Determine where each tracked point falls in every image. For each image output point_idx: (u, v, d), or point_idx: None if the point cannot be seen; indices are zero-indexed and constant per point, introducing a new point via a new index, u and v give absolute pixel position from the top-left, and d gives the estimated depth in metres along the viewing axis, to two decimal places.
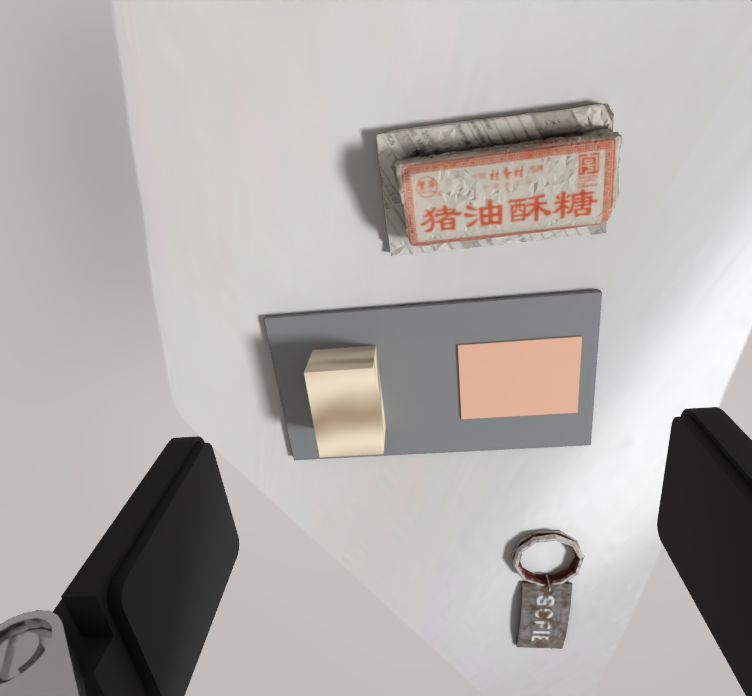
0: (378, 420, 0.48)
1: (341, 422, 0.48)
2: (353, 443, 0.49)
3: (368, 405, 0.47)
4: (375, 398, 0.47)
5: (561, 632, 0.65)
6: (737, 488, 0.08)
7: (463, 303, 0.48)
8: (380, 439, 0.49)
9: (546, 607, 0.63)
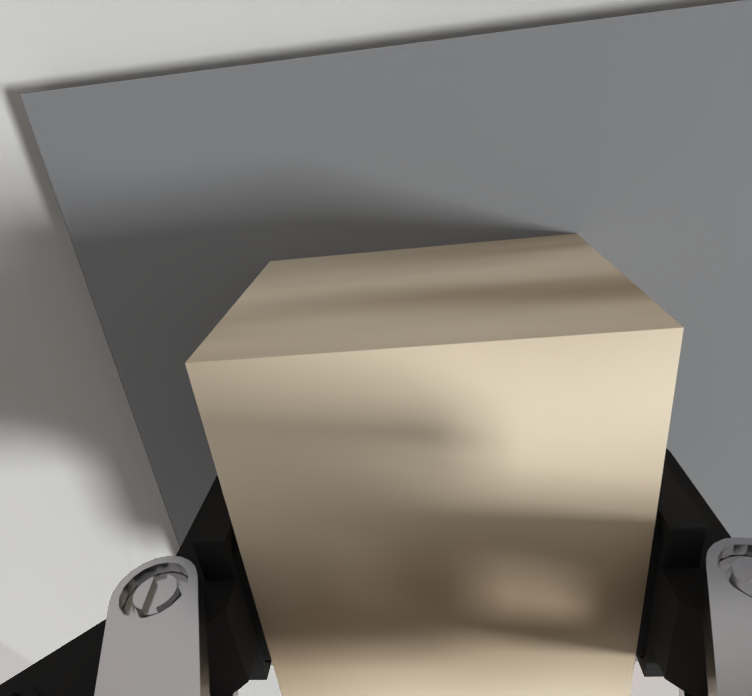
0: (632, 636, 0.08)
1: (420, 639, 0.09)
2: None
3: (595, 560, 0.08)
4: (647, 526, 0.07)
5: None
6: None
7: None
8: None
9: None
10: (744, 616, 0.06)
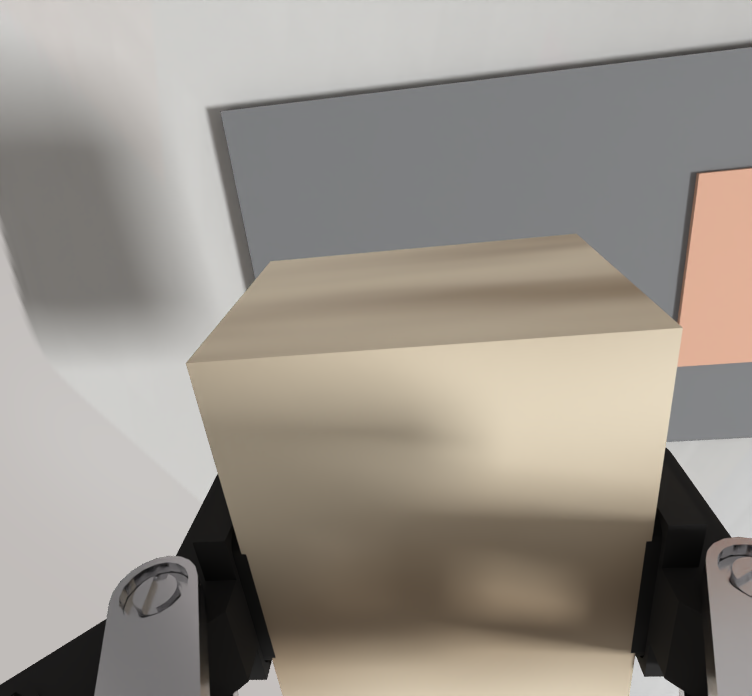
0: (631, 635, 0.09)
1: (420, 638, 0.09)
2: None
3: (594, 559, 0.08)
4: (646, 526, 0.08)
5: None
6: None
7: (732, 51, 0.18)
8: None
9: None
10: (744, 616, 0.06)
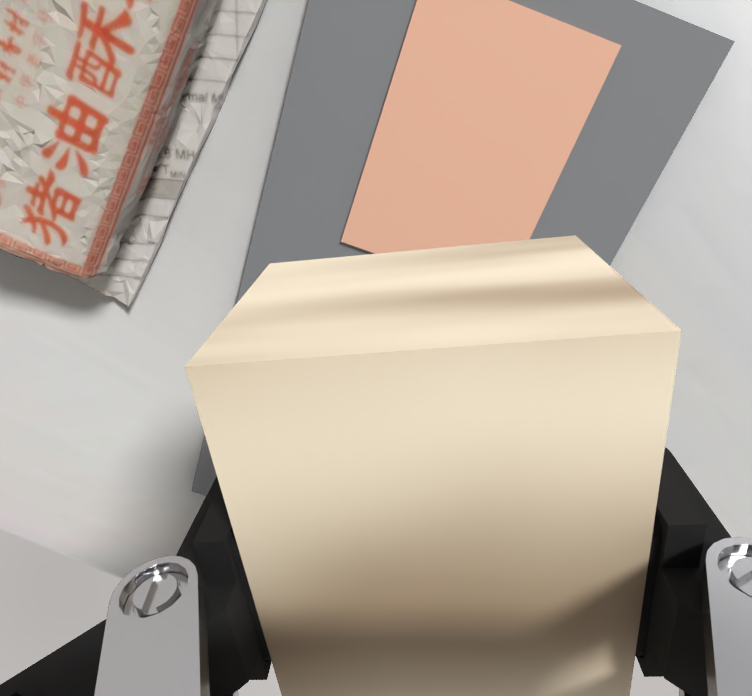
0: (631, 637, 0.09)
1: (420, 640, 0.09)
2: None
3: (594, 562, 0.08)
4: (645, 528, 0.08)
5: None
6: None
7: (263, 197, 0.24)
8: None
9: None
10: (744, 616, 0.06)
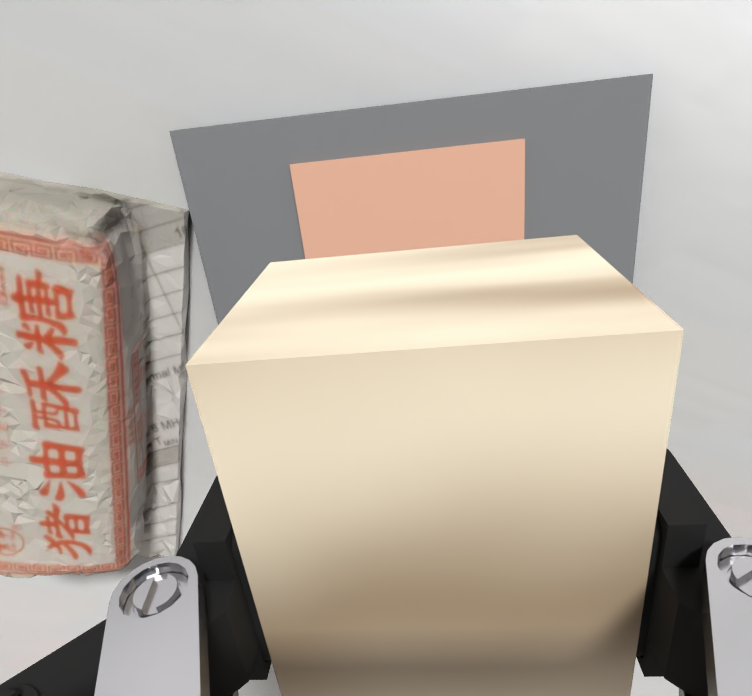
0: (632, 637, 0.08)
1: (421, 640, 0.09)
2: None
3: (595, 562, 0.08)
4: (647, 528, 0.07)
5: None
6: None
7: None
8: None
9: None
10: (744, 616, 0.06)
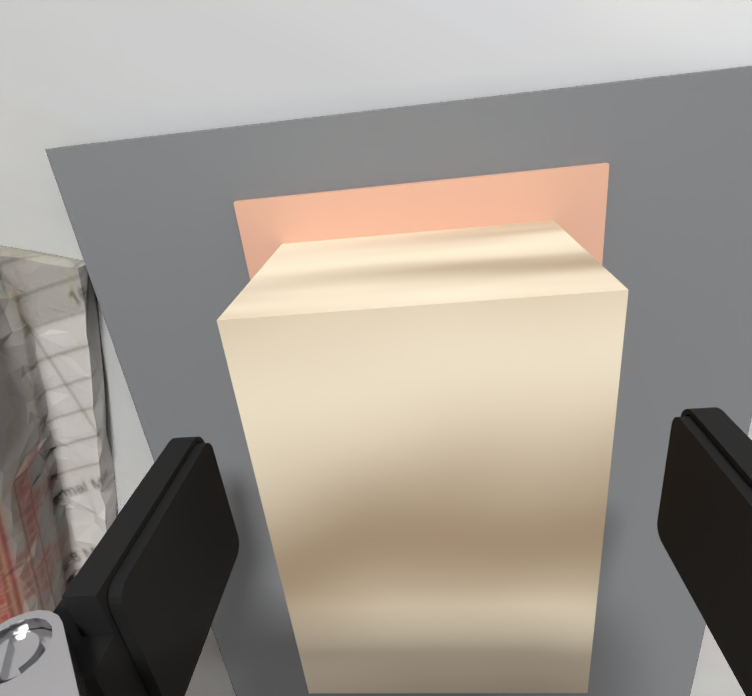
0: (595, 565, 0.10)
1: (413, 569, 0.10)
2: (457, 651, 0.11)
3: (562, 495, 0.09)
4: (604, 464, 0.09)
5: None
6: (737, 488, 0.08)
7: None
8: (586, 640, 0.11)
9: None
10: None
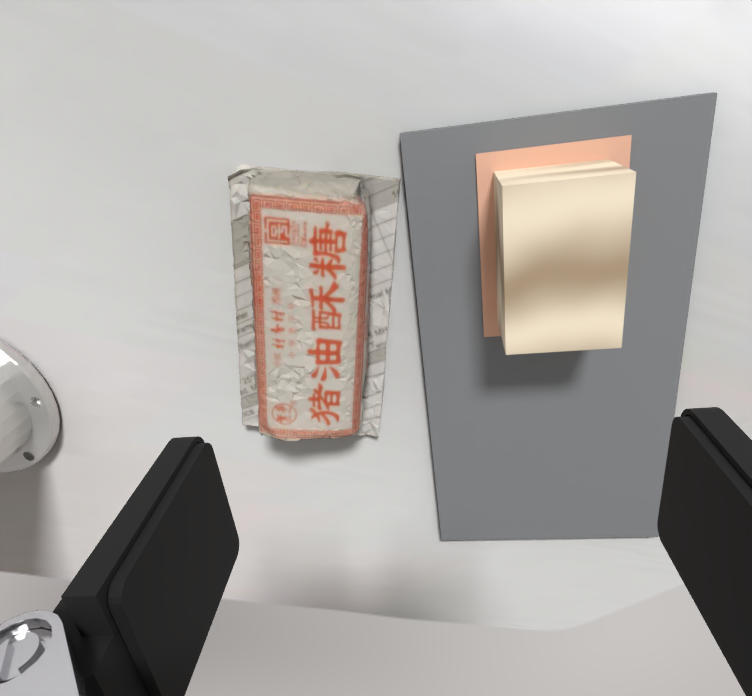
0: (625, 282, 0.27)
1: (556, 286, 0.27)
2: (570, 327, 0.28)
3: (613, 250, 0.26)
4: (628, 237, 0.26)
5: None
6: (737, 488, 0.08)
7: (420, 330, 0.34)
8: (621, 319, 0.28)
9: None
10: None
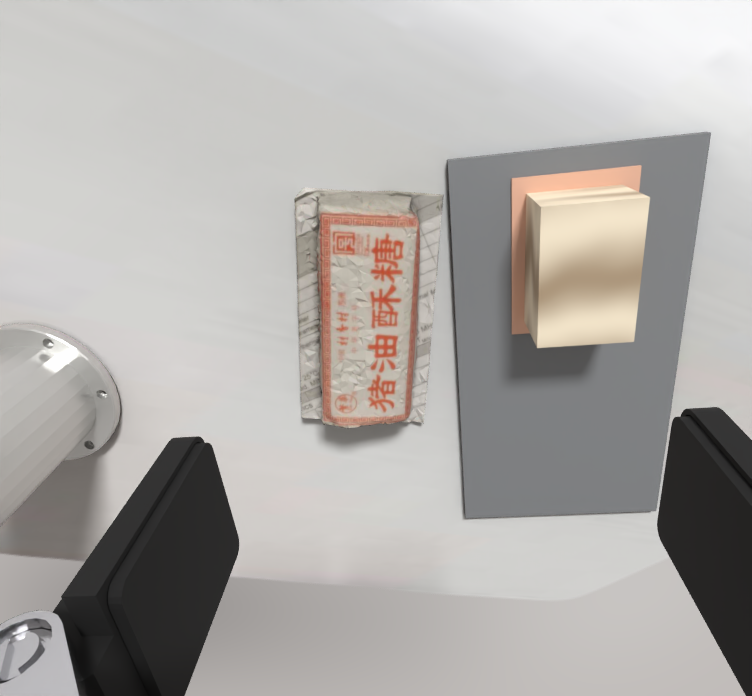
0: (638, 286, 0.33)
1: (582, 290, 0.33)
2: (592, 324, 0.34)
3: (629, 260, 0.32)
4: (642, 249, 0.32)
5: None
6: (737, 488, 0.08)
7: (456, 328, 0.40)
8: (634, 318, 0.33)
9: None
10: None
